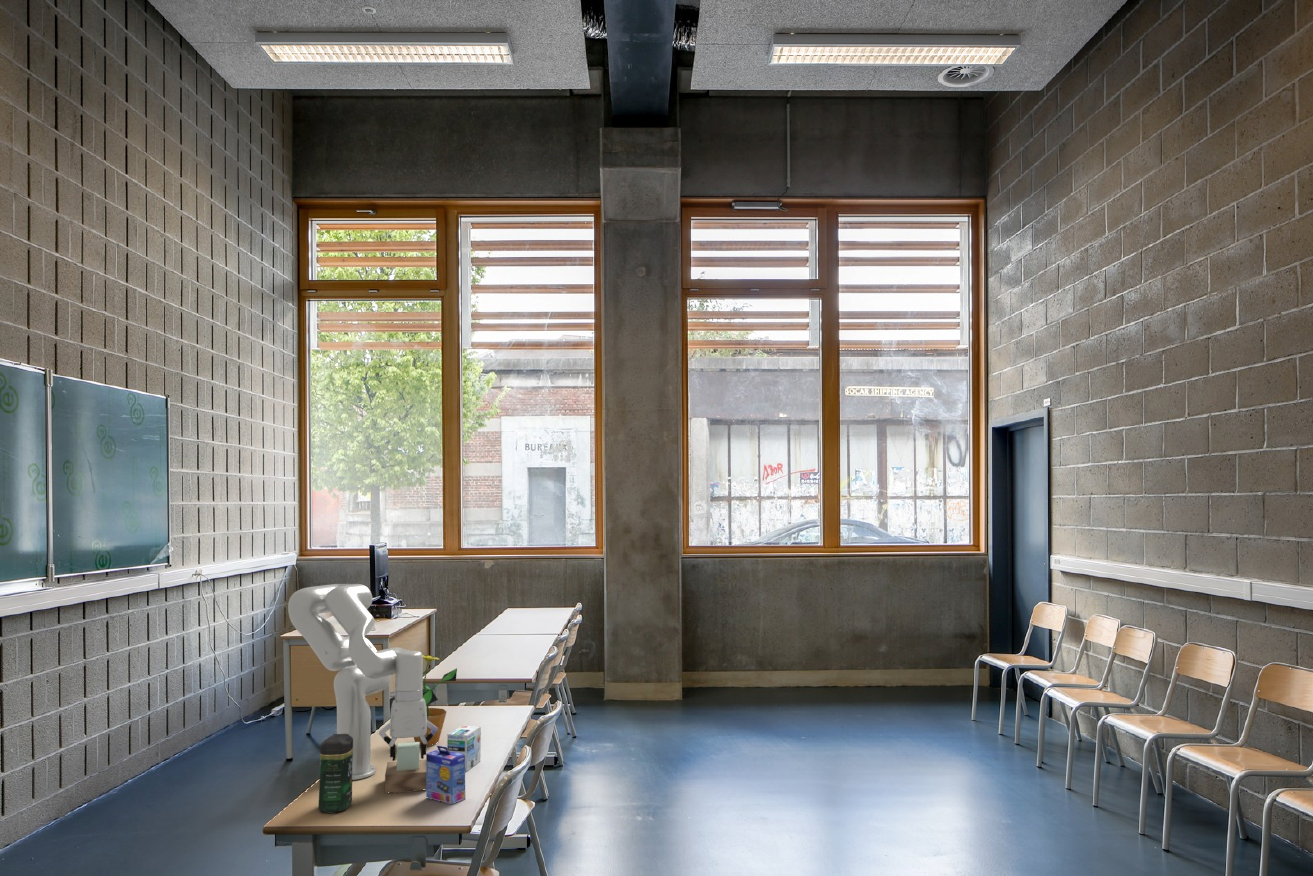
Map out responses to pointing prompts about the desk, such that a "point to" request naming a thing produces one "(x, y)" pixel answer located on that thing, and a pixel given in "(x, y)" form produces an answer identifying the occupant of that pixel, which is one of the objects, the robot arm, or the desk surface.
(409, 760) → the sage block
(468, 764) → the light bulb box
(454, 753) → the ink cartridge box
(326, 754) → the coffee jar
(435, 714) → the potted plant
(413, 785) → the walnut block
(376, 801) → the desk surface
